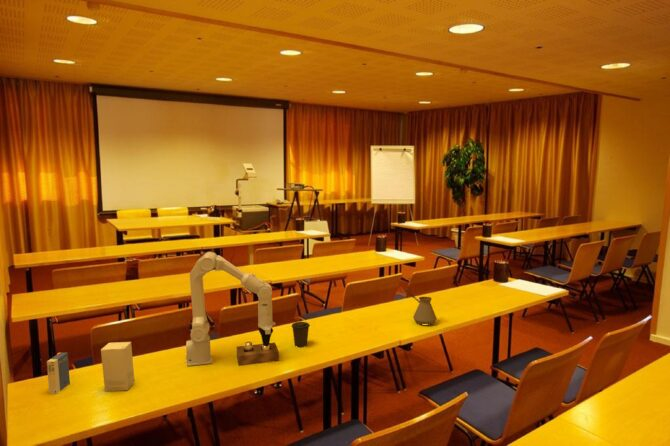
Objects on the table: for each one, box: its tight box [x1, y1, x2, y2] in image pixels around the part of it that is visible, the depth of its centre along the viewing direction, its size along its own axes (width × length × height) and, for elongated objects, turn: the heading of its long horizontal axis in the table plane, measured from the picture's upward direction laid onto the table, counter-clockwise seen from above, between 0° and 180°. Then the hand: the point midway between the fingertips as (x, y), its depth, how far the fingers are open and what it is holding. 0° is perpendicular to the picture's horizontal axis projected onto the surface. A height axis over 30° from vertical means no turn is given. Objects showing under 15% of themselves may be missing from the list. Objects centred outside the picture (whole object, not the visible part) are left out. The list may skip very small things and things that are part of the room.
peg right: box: [262, 345, 270, 350], centre depth 186 cm, size 3×3×4 cm
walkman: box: [46, 352, 71, 395], centre depth 159 cm, size 8×3×12 cm, turn 0°
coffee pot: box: [401, 287, 437, 325], centre depth 231 cm, size 21×12×15 cm, turn 37°
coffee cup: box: [291, 321, 311, 348], centre depth 199 cm, size 8×8×10 cm
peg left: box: [244, 341, 253, 352], centre depth 184 cm, size 3×3×4 cm
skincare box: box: [100, 341, 135, 392], centre depth 160 cm, size 8×7×16 cm
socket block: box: [236, 342, 280, 367], centre depth 185 cm, size 16×10×4 cm, turn 106°
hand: (265, 345), depth 186 cm, fingers closed
